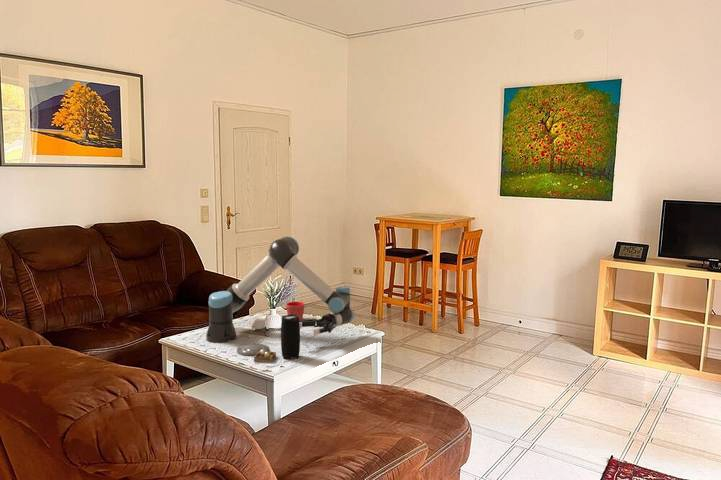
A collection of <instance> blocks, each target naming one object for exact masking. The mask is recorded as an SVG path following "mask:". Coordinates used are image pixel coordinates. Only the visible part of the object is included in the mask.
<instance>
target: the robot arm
mask: <svg viewBox="0 0 721 480" xmlns="http://www.w3.org/2000/svg"><path fill="white" fill-rule="evenodd" d="M299 251H300V246H299V242H298V241H297V240H296V239H295V237H292V236H283V237H281V238H279V239H276V240H273V242H272V243H271V244H270V247H269V249H268V250H267V255H266V256H265V257H263V259H262V260H260V262H258V263H257V264H256V265H255V266H254V268H253V269H251V270H250V272H248V273H247V274H246V275H245V276H244V277H242V279H241V280H240V281H239V282H238V283H233V284H232V285H231V286H230V287H228V288H227V290H222V291H221V290H220V291H217V292H216V291H215V292H212V293H211V294H210V295H209V297H208V301H207V302H208V319H209V320H208V321H209V325H208V327H207V331H206V334H205V340H207V341H208V342H212V343H226V342H231V341H234V340H236V339H237V331H236V328H235V325H234V322H233V319H234V317H233V314H234V313H235V312H237V311H238V310H241V309H242V308H243V307H244V305H245V304H246V303H247V302H248V301H249V299H250V295H251V294H252V293H253V292H254V291H255V290H256V289H258V288H259V286H261V285H262V283H264V282H265V280H267V279H268V278H269V277H270V276H271V275H272V274H273V273H275V271H276V270H277V269H278V268H281V269H283V270H286V271H288V272H289V273H290V274H292V275H293V276H294V278H296V279H297V280H298V281H300V282H301V283H302V284H303V285H304V286H305V287H307V288H308V289H309V291H311V292H312V293H313V294H314V295H316V296H317V297H318V298H319V299H320V300H321V301H323V302H324V303H325V304H326V305H327V306H328V309H329V311H330V313H327V314H324V315H322V317H321V318H318V319H317V318H310V319H309V318H308V319H302V320H301V321H299V325H300V329H303V328H304V327H305V328H307V327H314V329H313V336H318V335H320V334H323V333H332V331H333V330H334V329H336V328H337V327H339V326H343V325H347V324H348V323H351V322H353V320H354V318H355V313H354V310H353V309H352V308H351V288H350V287H349V286H344V285H343V286H337V287H336V288H335V290H334V288H332V286H330V285H329V284H328V283H327V282H325V281H324V280H323V279H322V278H320V277H319V275H317V273H315V272H314V271H312V269H311V268H310V267H308V266H307V265H306V264H305V263H303V261H302V260H300V259H299V258H298V256H297V255H298V253H299Z"/></svg>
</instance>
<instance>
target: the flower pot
mask: <svg viewBox="0 0 721 480" xmlns="http://www.w3.org/2000/svg"><path fill="white" fill-rule="evenodd" d="M305 305H306V303H304V302H303V301H289V302H286V303H285V307H286V313H287V314H286V315H289V314H296V315H297V316H298V317H299V321H301V320H303V318H304V317H303V316H304V314H305V313H304V312H305V307H306V306H305Z"/></svg>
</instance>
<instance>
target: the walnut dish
mask: <svg viewBox="0 0 721 480" xmlns="http://www.w3.org/2000/svg"><path fill="white" fill-rule="evenodd" d="M269 352H270V354H271V356H270V357H264V356H261V355H260V351H259V352H258V353H257V354H256V355H255V356H253V362H255V363H273V361H274V360H275V358H276V357H277V352H276V351H269Z"/></svg>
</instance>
